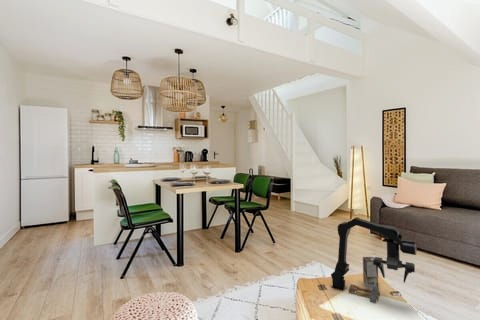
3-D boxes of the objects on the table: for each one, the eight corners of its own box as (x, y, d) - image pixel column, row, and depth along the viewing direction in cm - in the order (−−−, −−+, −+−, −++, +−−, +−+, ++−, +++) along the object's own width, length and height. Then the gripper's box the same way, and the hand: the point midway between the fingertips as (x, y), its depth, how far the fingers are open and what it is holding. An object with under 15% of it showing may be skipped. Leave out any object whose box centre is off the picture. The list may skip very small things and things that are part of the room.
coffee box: (379, 289, 151) (378, 262, 151) (367, 289, 152) (366, 261, 152) (374, 282, 160) (373, 256, 160) (363, 281, 161) (362, 256, 161)
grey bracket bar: (369, 301, 138) (369, 295, 138) (373, 292, 148) (372, 286, 148) (376, 303, 137) (376, 297, 137) (379, 293, 146) (378, 288, 146)
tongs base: (348, 293, 148) (348, 288, 148) (351, 288, 153) (351, 284, 153) (378, 300, 139) (378, 296, 139) (379, 295, 145) (379, 290, 145)
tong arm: (349, 293, 148) (349, 286, 148) (350, 291, 149) (350, 285, 149) (378, 300, 139) (378, 293, 139) (378, 298, 141) (378, 292, 141)
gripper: (371, 252, 135) (372, 281, 135) (413, 259, 124) (414, 291, 124) (374, 246, 144) (375, 274, 144) (414, 252, 133) (415, 282, 133)
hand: (393, 280), depth 136 cm, fingers open, 9 cm apart
